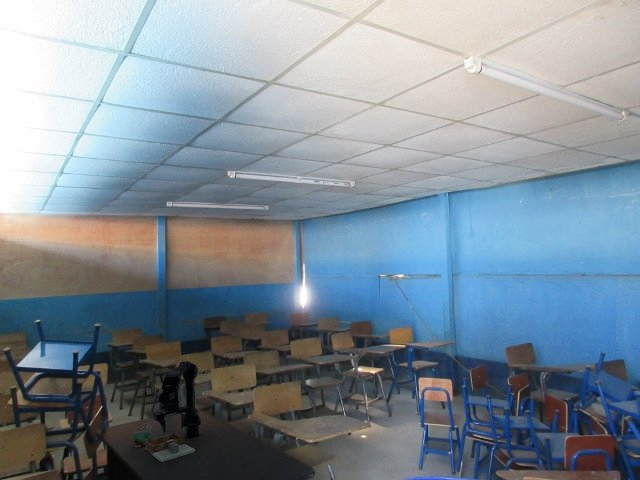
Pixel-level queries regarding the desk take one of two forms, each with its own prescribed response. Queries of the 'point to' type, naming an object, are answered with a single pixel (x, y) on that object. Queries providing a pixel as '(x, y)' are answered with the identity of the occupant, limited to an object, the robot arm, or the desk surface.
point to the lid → (173, 452)
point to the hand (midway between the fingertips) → (173, 430)
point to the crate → (162, 443)
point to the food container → (142, 435)
